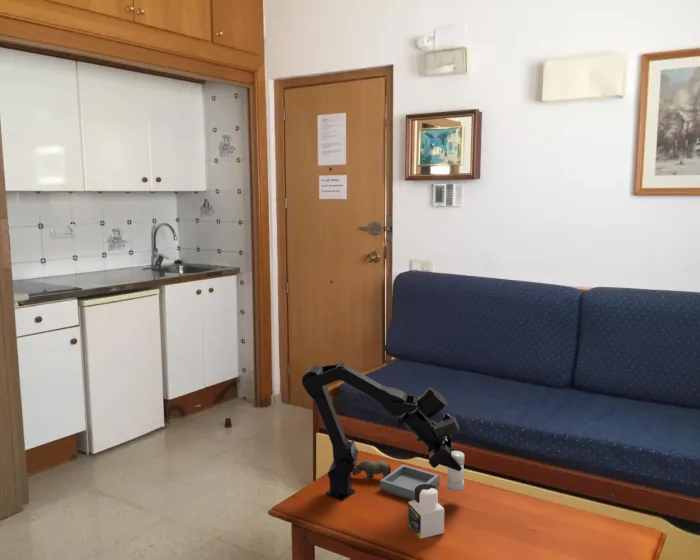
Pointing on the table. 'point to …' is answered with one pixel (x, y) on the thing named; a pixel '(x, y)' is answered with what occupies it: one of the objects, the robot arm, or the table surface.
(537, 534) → the table surface
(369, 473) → the rhino figurine
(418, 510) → the medicine bottle
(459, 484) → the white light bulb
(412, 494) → the parts tray
